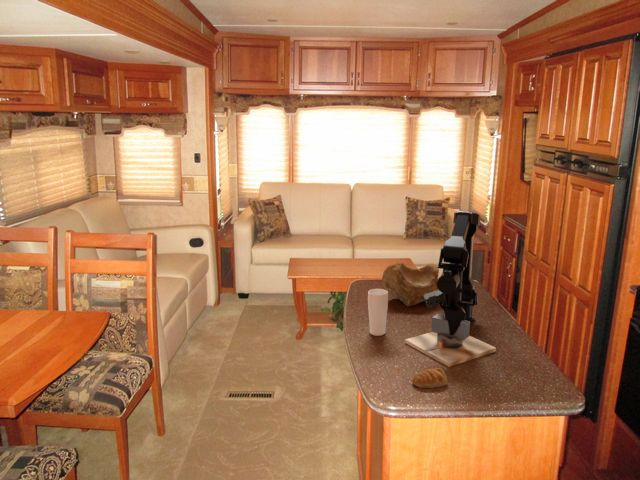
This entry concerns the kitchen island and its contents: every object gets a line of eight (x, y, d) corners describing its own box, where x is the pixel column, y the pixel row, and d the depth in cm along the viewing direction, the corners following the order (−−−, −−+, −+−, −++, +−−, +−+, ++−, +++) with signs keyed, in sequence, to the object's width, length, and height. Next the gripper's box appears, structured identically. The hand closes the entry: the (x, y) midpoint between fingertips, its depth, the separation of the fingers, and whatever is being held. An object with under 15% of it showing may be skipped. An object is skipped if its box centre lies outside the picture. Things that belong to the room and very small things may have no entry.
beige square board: (450, 330, 182) (450, 326, 182) (495, 351, 166) (496, 347, 165) (405, 342, 172) (405, 338, 172) (448, 367, 156) (449, 362, 155)
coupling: (439, 334, 175) (440, 311, 173) (471, 342, 168) (472, 319, 167) (423, 345, 167) (424, 322, 165) (456, 355, 160) (458, 330, 158)
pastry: (420, 392, 142) (420, 379, 141) (407, 381, 148) (407, 369, 147) (449, 385, 145) (450, 373, 145) (435, 375, 152) (436, 362, 151)
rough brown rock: (388, 312, 202) (391, 275, 197) (378, 294, 217) (381, 260, 213) (447, 310, 205) (451, 275, 200) (433, 293, 220) (437, 259, 216)
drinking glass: (389, 330, 182) (390, 289, 179) (385, 338, 176) (385, 295, 172) (370, 328, 184) (370, 287, 181) (365, 336, 178) (365, 293, 175)
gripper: (423, 274, 174) (421, 319, 178) (429, 293, 156) (427, 342, 160) (457, 275, 173) (455, 320, 176) (467, 294, 155) (464, 343, 158)
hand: (450, 330), depth 168 cm, fingers closed on coupling, 6 cm apart
